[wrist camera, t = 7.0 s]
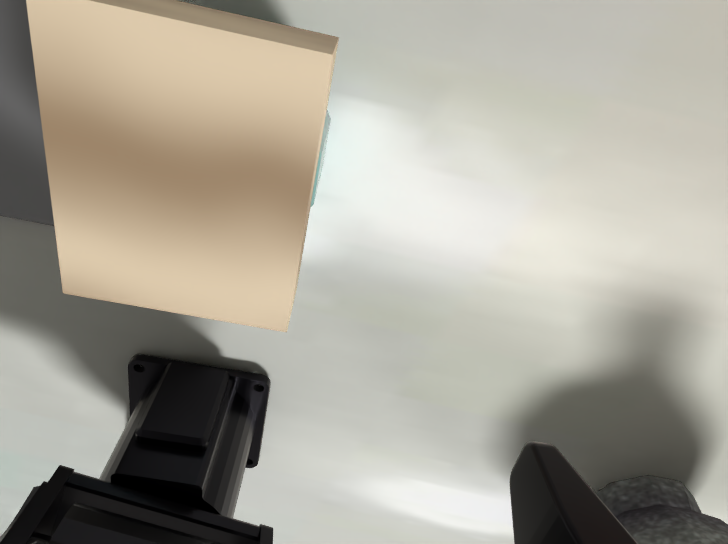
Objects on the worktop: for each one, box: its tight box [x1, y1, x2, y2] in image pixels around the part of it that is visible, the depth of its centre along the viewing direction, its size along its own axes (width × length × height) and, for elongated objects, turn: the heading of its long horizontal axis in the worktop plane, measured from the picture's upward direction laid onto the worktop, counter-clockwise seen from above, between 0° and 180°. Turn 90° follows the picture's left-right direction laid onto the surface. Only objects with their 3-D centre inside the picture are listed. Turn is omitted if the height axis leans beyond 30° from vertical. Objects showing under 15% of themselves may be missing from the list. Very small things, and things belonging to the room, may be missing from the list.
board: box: [26, 0, 339, 332], centre depth 14 cm, size 8×6×2 cm
